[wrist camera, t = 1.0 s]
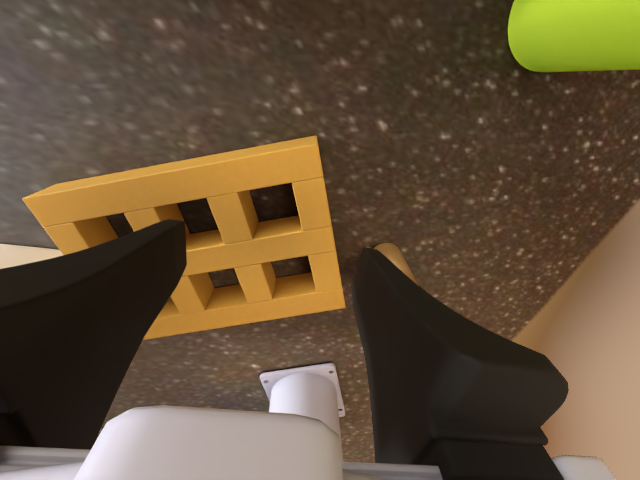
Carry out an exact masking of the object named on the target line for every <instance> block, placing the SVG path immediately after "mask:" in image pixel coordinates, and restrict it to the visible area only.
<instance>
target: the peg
mask: <svg viewBox="0 0 640 480" xmlns="http://www.w3.org/2000/svg"><path fill="white" fill-rule="evenodd" d="M373 249H377V250H379V251H380V252H381V253H382V254H383V255H385V256H386V257H387V258H388V259H389V260H390V261H391V262H392V263H393V264H394V265H395V266H397V267H398V268H399V269H400V270H401V271H402V272H403V273H404V274H405V275H407V276H408V277H409V278H410V279H411V280H412V281H413V282H415V283H416V284H417V285H418V283H417V281H416V279H415V278H414V276H413V274H412V272H411V270H410V268H409V267H408V265H407V263H406V261H405V259H404V257H403V255H402V254H401V252H400V250H399V248H398V247H397V246H396V245H394V244H391V243H382V244H379V245H377V246H376V247H374V248H373ZM418 286H419V285H418Z"/></svg>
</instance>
